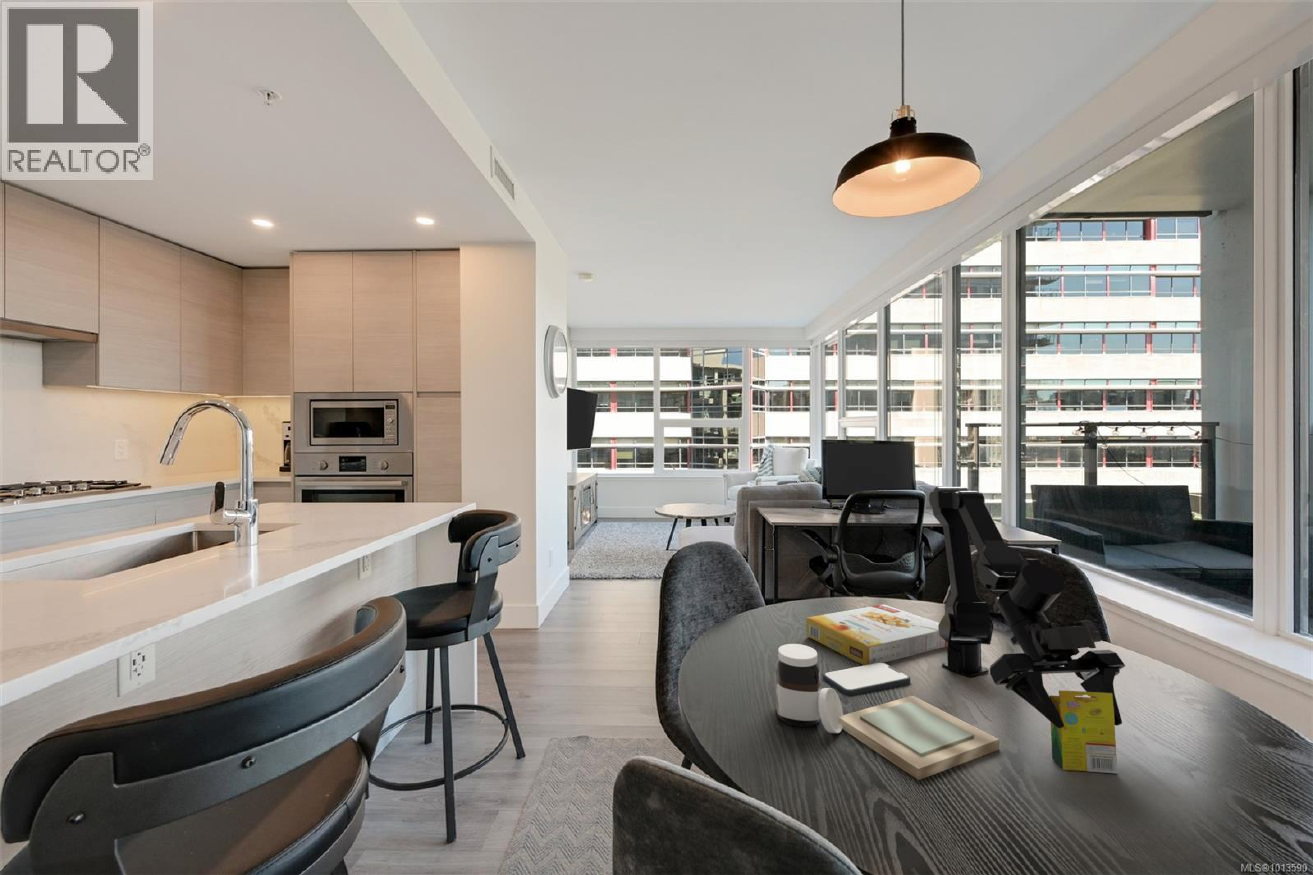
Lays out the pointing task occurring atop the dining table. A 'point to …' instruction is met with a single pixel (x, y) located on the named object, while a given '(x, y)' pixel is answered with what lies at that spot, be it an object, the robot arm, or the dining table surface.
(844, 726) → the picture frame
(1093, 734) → the crayon box
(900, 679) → the smartphone
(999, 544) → the robot arm
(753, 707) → the dining table surface
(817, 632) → the cereal box
